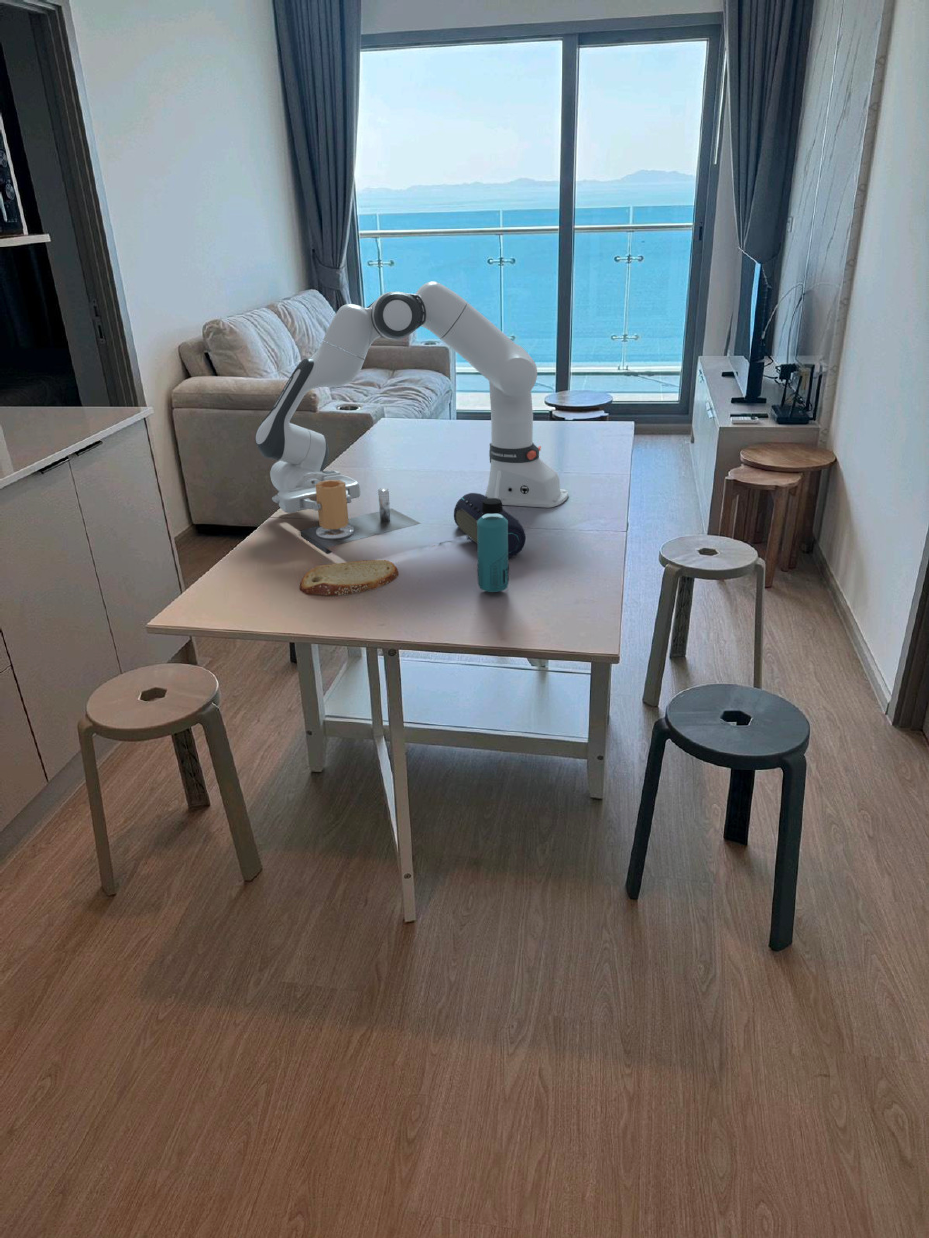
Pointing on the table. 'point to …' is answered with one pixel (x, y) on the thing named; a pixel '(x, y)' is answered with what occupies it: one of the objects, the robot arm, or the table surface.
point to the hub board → (360, 526)
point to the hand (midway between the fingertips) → (333, 503)
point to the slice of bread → (348, 577)
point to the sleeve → (332, 504)
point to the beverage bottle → (492, 547)
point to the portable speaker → (471, 512)
